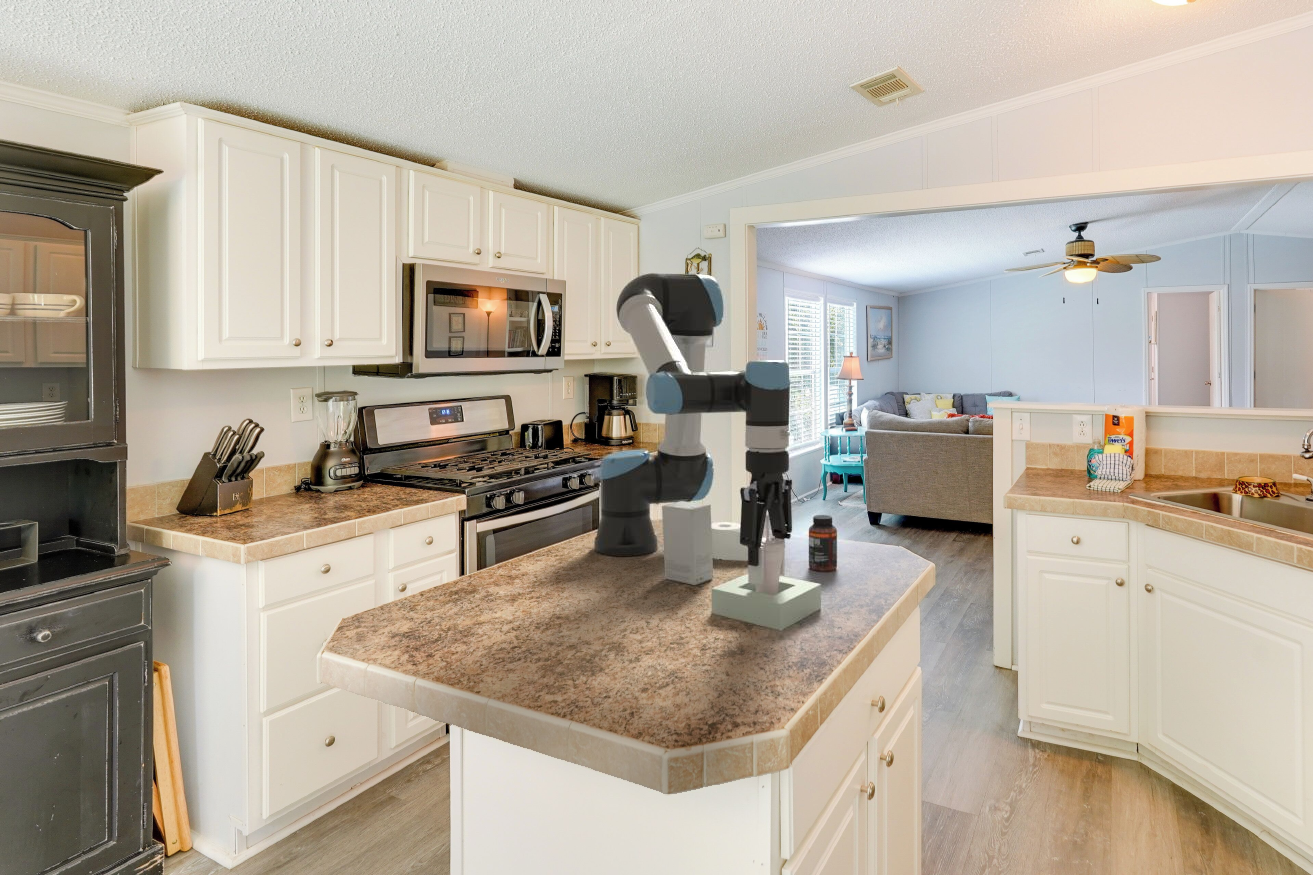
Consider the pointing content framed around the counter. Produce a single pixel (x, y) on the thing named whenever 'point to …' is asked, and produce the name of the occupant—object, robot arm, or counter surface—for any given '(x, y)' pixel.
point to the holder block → (767, 602)
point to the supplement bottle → (822, 544)
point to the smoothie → (771, 562)
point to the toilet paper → (727, 542)
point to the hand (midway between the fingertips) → (766, 578)
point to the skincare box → (687, 542)
